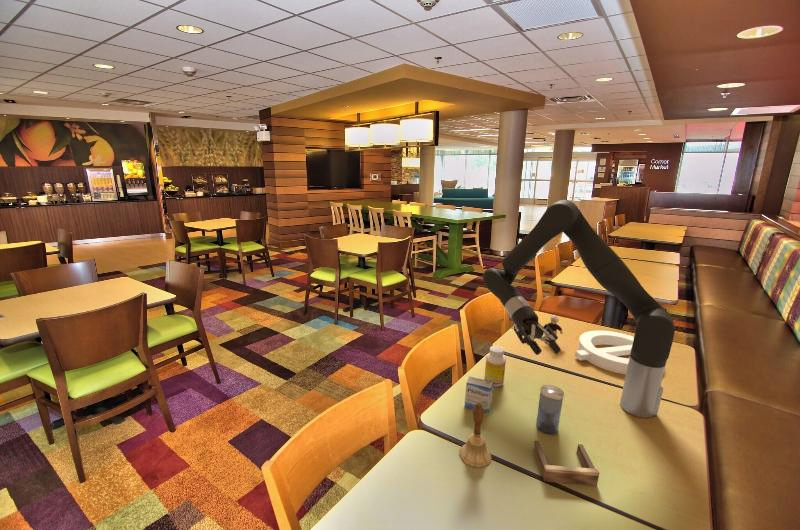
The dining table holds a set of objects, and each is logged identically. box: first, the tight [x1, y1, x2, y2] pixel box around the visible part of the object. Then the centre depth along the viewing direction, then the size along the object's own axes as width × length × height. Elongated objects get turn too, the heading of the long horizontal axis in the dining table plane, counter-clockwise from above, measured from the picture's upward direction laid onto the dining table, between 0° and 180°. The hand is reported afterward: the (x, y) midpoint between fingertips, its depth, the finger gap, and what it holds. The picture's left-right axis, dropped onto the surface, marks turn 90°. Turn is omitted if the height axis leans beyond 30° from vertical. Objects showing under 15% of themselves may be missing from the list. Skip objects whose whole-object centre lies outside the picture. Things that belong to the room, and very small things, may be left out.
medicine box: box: [464, 375, 494, 413], centre depth 117 cm, size 8×4×9 cm, turn 68°
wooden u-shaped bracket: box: [533, 440, 600, 487], centre depth 95 cm, size 12×10×4 cm
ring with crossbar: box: [574, 330, 634, 375], centre depth 150 cm, size 28×28×5 cm
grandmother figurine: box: [543, 315, 563, 344], centre depth 158 cm, size 8×4×13 cm, turn 67°
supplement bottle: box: [483, 345, 507, 388], centre depth 130 cm, size 7×7×13 cm
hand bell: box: [459, 402, 492, 469], centre depth 97 cm, size 8×8×16 cm
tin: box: [535, 384, 565, 436], centre depth 108 cm, size 6×6×12 cm
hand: (549, 352), depth 114 cm, fingers open, 8 cm apart
